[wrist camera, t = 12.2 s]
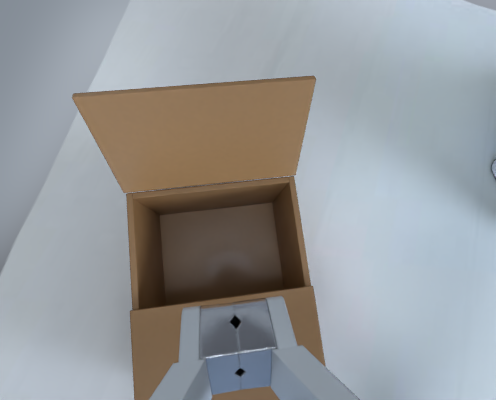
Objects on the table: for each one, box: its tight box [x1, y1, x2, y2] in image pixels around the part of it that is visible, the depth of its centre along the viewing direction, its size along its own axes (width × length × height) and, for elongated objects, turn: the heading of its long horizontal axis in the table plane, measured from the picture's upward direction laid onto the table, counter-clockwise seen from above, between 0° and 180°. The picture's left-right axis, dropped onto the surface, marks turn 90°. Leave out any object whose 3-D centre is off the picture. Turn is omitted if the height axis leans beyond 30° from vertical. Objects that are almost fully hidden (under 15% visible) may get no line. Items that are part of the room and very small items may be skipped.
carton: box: [126, 176, 326, 400], centre depth 29 cm, size 18×14×11 cm
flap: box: [72, 76, 316, 193], centre depth 21 cm, size 9×14×1 cm
